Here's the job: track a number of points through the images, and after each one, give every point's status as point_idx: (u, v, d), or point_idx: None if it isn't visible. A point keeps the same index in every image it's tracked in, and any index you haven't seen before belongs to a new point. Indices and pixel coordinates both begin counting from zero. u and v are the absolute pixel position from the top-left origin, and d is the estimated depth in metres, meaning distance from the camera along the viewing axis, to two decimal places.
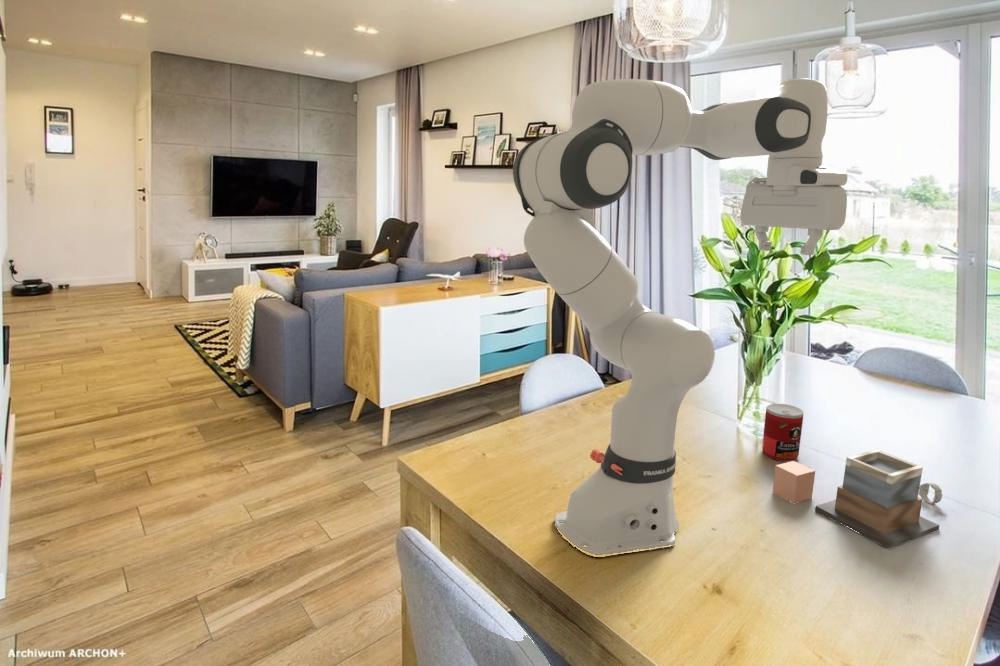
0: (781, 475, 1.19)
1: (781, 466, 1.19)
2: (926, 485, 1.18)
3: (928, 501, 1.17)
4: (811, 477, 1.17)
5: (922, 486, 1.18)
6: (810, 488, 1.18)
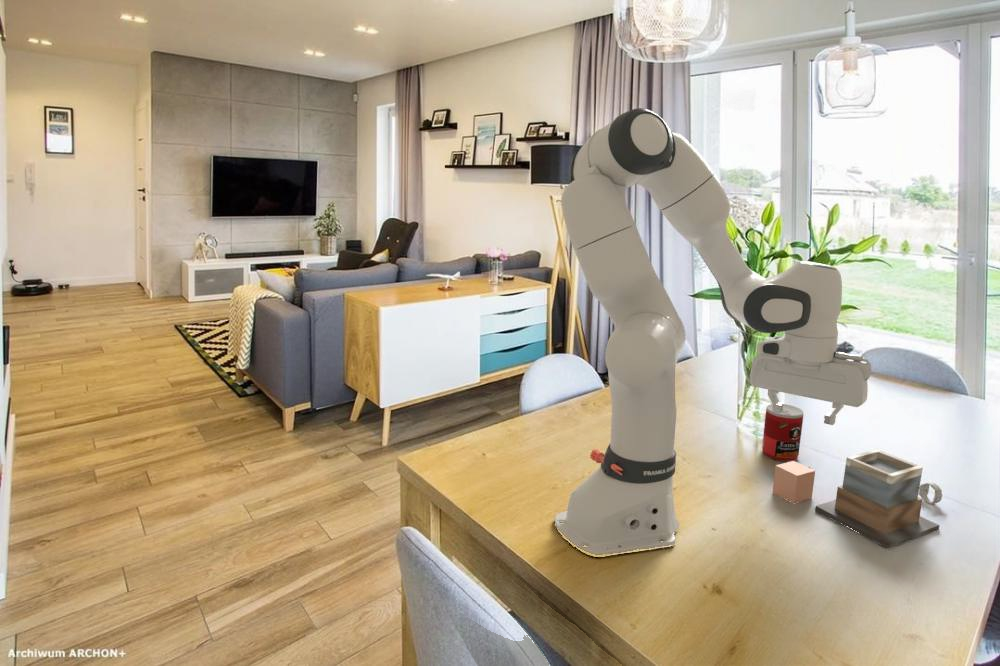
0: (781, 475, 1.19)
1: (781, 466, 1.19)
2: (926, 485, 1.18)
3: (928, 501, 1.17)
4: (811, 477, 1.17)
5: (922, 486, 1.18)
6: (810, 488, 1.18)
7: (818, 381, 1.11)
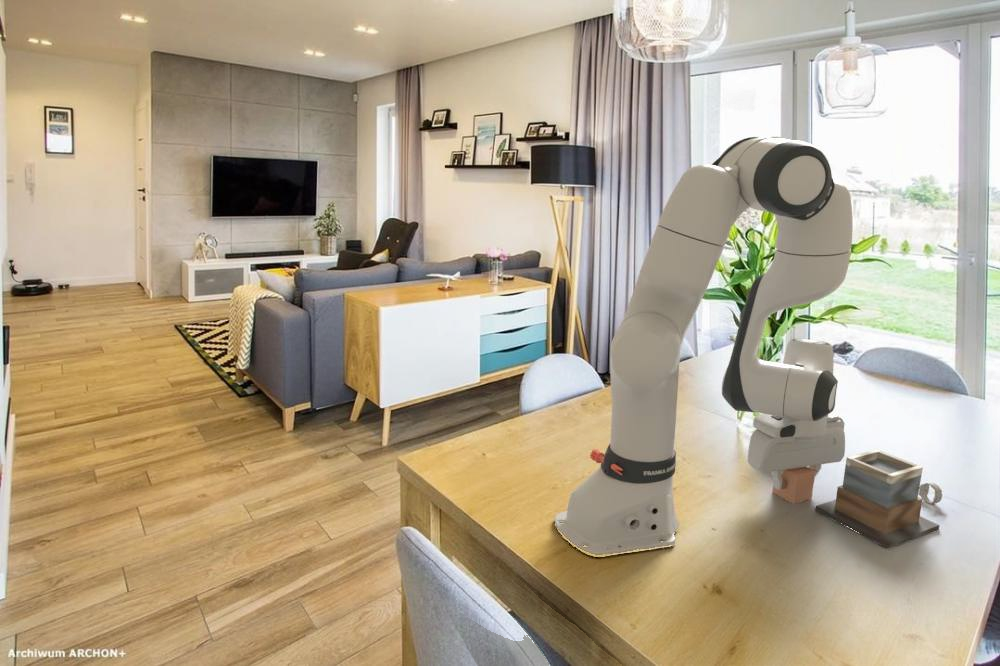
0: (781, 475, 1.19)
1: None
2: (926, 485, 1.18)
3: (928, 501, 1.17)
4: (811, 477, 1.17)
5: (922, 486, 1.18)
6: (810, 488, 1.18)
7: (816, 449, 1.17)
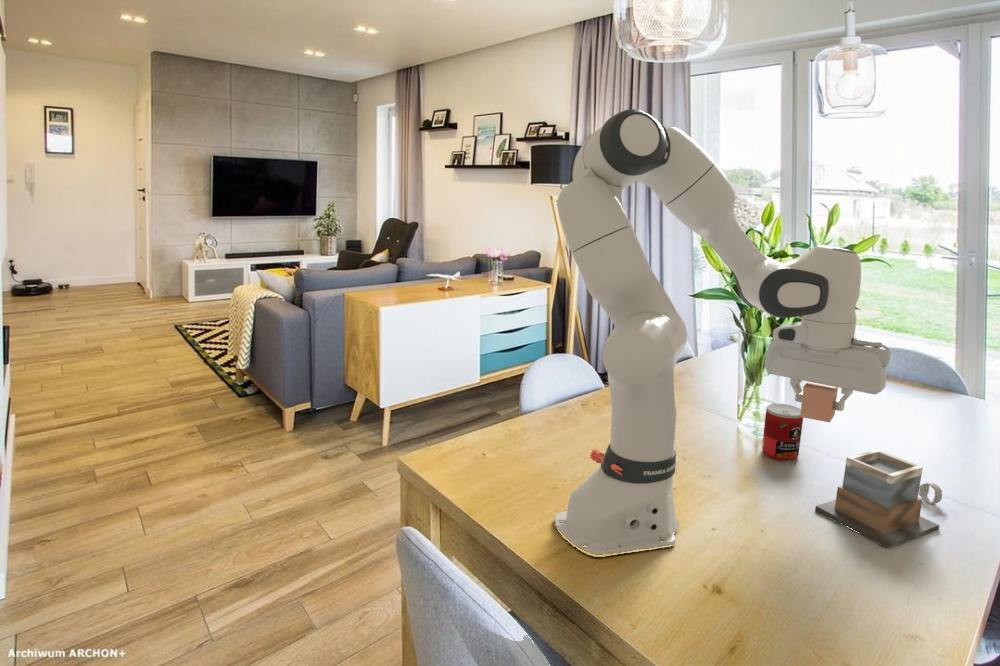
0: None
1: None
2: (926, 485, 1.18)
3: (928, 501, 1.17)
4: (827, 397, 1.11)
5: (922, 486, 1.18)
6: (826, 409, 1.11)
7: (835, 368, 1.09)
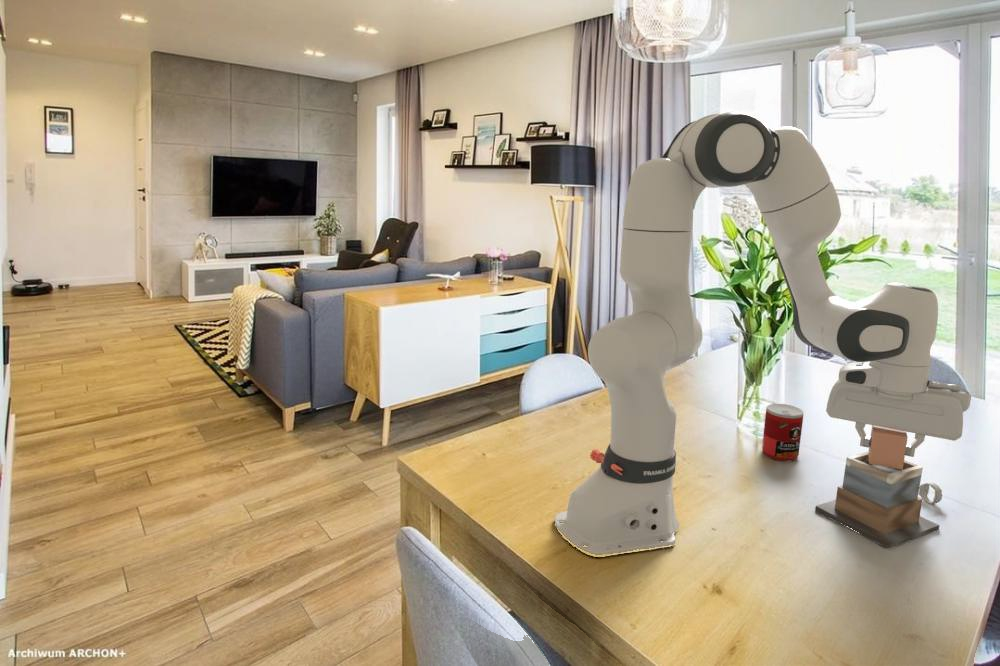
0: (871, 433, 1.09)
1: None
2: (926, 485, 1.18)
3: (928, 501, 1.17)
4: (900, 442, 1.04)
5: (922, 486, 1.18)
6: (899, 455, 1.05)
7: (910, 412, 1.03)
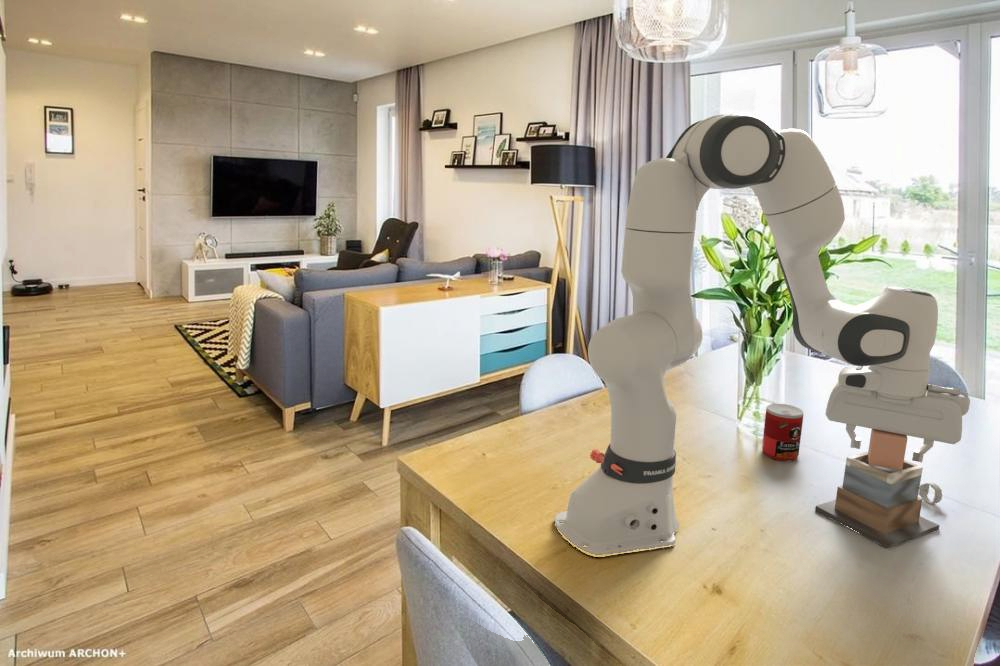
0: (871, 434, 1.09)
1: None
2: (926, 485, 1.18)
3: (928, 501, 1.17)
4: (900, 444, 1.04)
5: (922, 486, 1.18)
6: (899, 457, 1.05)
7: (909, 416, 1.03)
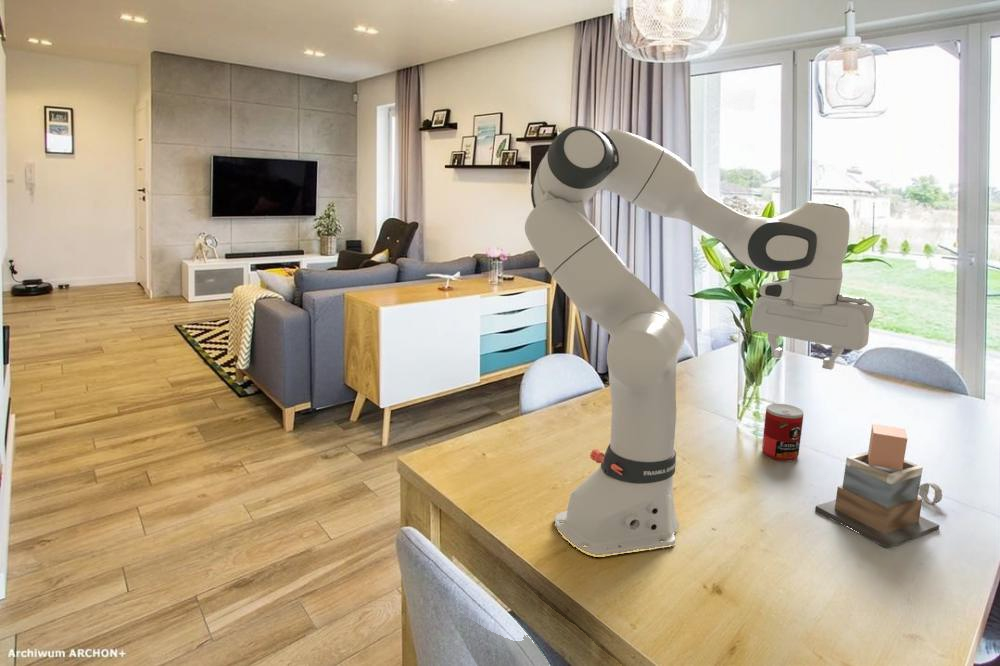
0: (871, 434, 1.09)
1: (876, 426, 1.09)
2: (926, 485, 1.18)
3: (928, 501, 1.17)
4: (900, 444, 1.04)
5: (922, 486, 1.18)
6: (899, 457, 1.05)
7: (819, 324, 1.10)
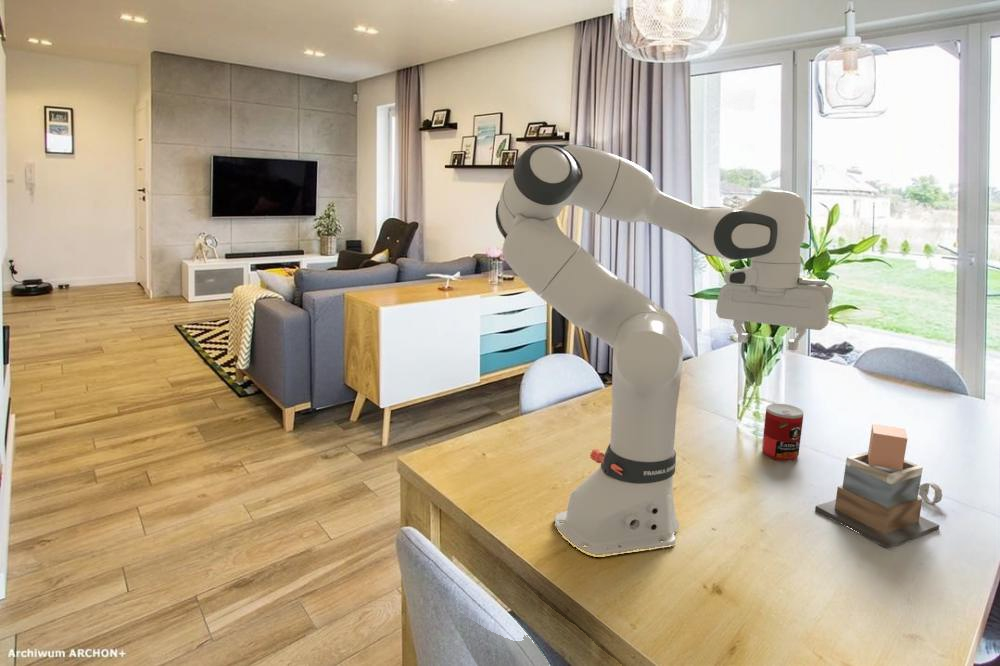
0: (871, 434, 1.09)
1: (876, 426, 1.09)
2: (926, 485, 1.18)
3: (928, 501, 1.17)
4: (900, 444, 1.04)
5: (922, 486, 1.18)
6: (899, 457, 1.05)
7: (783, 307, 1.15)
